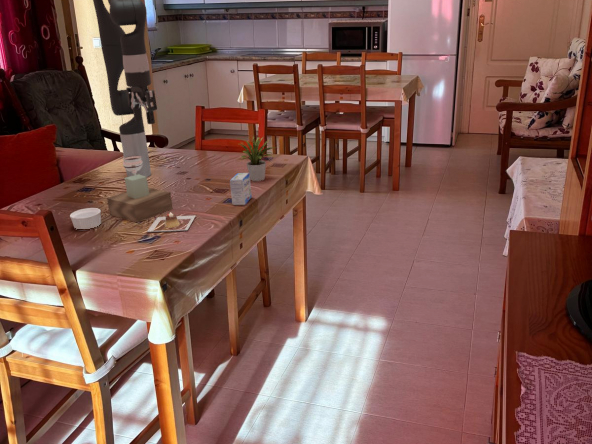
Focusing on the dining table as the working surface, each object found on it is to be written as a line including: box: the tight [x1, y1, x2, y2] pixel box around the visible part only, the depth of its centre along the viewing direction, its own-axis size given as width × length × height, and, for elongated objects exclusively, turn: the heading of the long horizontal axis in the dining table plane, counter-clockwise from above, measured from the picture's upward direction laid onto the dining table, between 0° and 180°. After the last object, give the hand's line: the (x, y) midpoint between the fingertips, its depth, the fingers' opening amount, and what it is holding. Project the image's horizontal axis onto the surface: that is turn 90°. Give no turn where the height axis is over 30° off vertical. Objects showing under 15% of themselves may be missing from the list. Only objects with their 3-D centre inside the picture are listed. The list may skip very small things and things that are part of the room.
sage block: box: [124, 174, 149, 199], centre depth 181 cm, size 5×5×6 cm
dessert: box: [146, 211, 197, 233], centre depth 171 cm, size 12×12×5 cm
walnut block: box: [106, 187, 174, 223], centre depth 183 cm, size 14×14×6 cm
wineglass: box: [122, 155, 143, 175], centre depth 205 cm, size 7×7×12 cm
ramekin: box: [69, 207, 102, 230], centre depth 174 cm, size 9×9×4 cm
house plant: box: [239, 134, 277, 182], centre depth 207 cm, size 14×14×16 cm
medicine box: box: [229, 172, 253, 206], centre depth 187 cm, size 8×4×9 cm, turn 168°
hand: (144, 122), depth 182 cm, fingers open, 8 cm apart
